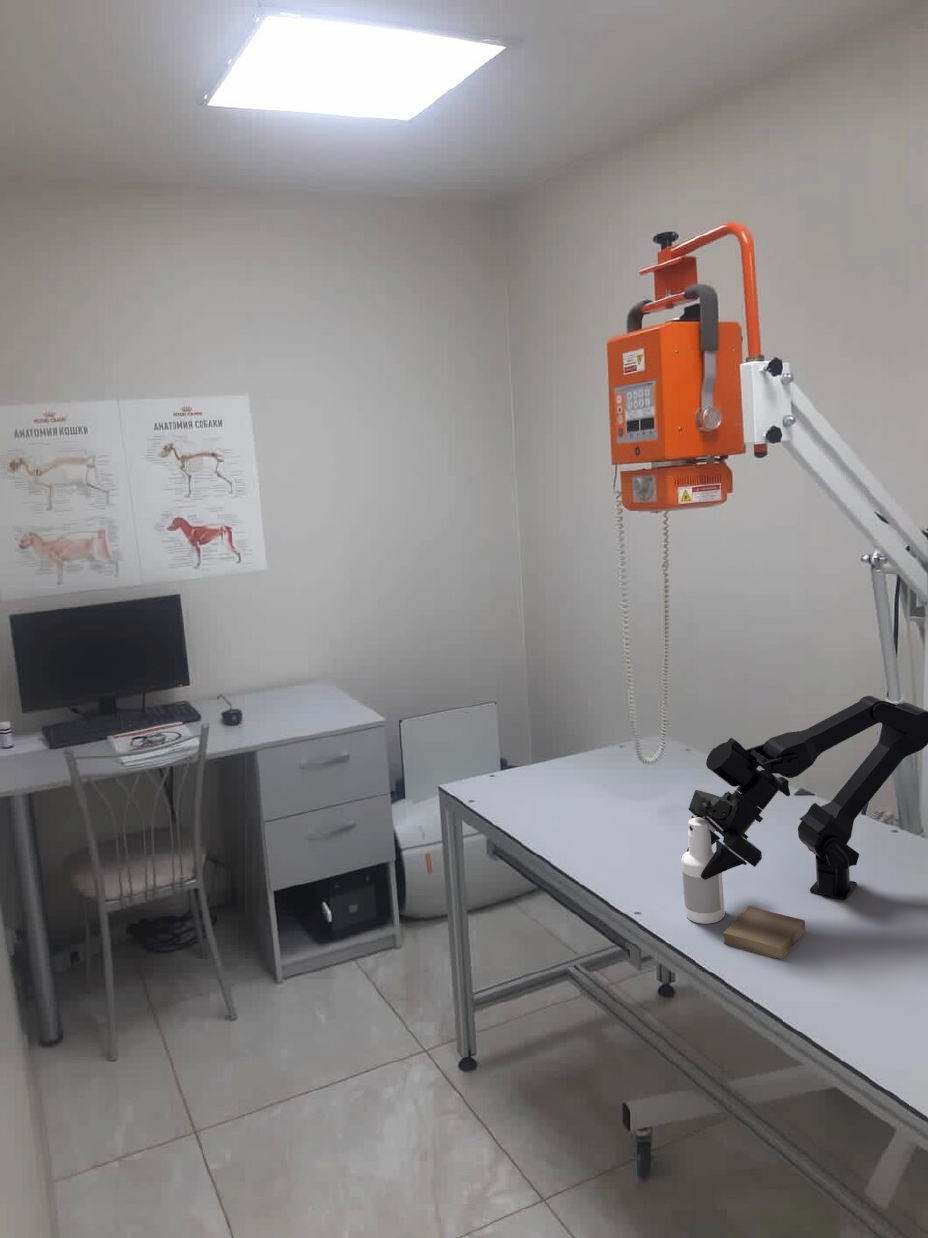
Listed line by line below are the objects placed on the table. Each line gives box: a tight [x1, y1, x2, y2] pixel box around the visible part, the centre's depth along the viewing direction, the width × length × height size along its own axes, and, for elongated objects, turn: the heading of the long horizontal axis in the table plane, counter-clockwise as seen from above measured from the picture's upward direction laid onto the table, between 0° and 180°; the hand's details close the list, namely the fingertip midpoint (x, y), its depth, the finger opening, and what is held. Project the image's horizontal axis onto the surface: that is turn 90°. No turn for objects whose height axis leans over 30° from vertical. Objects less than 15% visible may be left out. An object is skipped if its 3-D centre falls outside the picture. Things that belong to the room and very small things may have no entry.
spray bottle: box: [680, 817, 726, 925], centre depth 173 cm, size 7×7×18 cm
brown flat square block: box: [723, 906, 806, 961], centre depth 165 cm, size 10×10×2 cm
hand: (694, 869), depth 173 cm, fingers closed on spray bottle, 7 cm apart
